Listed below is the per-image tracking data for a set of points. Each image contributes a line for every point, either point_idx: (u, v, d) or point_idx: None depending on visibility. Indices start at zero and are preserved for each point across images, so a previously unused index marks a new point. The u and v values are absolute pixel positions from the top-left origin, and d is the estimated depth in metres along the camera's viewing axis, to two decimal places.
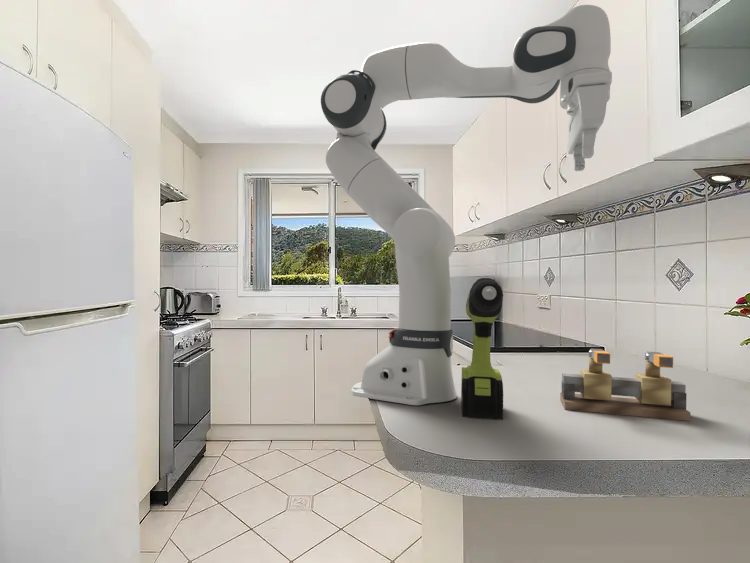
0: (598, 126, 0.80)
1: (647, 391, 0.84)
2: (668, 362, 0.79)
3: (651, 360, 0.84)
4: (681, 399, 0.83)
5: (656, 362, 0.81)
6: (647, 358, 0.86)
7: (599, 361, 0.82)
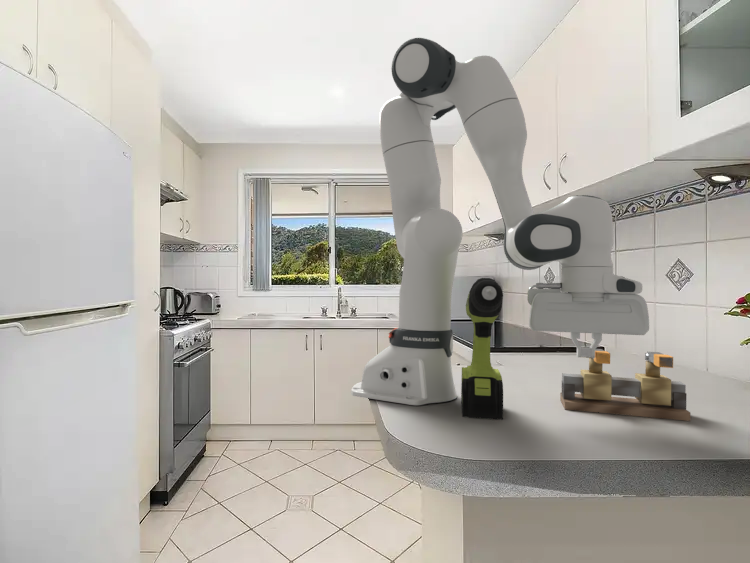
0: None
1: (647, 391, 0.84)
2: (668, 362, 0.79)
3: (651, 360, 0.84)
4: (681, 399, 0.83)
5: (656, 362, 0.81)
6: (647, 358, 0.86)
7: (599, 361, 0.82)
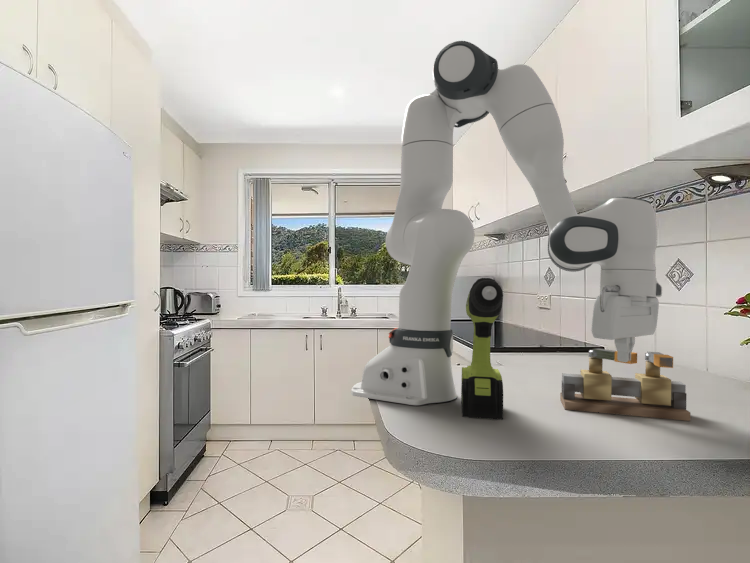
0: None
1: (647, 391, 0.84)
2: (668, 362, 0.79)
3: (651, 360, 0.84)
4: (681, 399, 0.83)
5: (656, 362, 0.81)
6: (647, 358, 0.86)
7: (631, 362, 0.82)
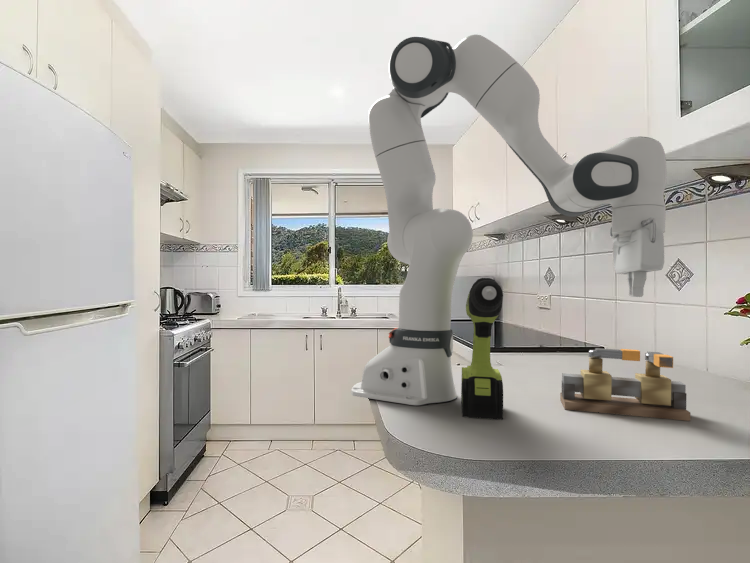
0: (619, 273, 0.93)
1: (647, 391, 0.84)
2: (668, 362, 0.79)
3: (651, 360, 0.84)
4: (681, 399, 0.83)
5: (656, 362, 0.81)
6: (647, 358, 0.86)
7: None
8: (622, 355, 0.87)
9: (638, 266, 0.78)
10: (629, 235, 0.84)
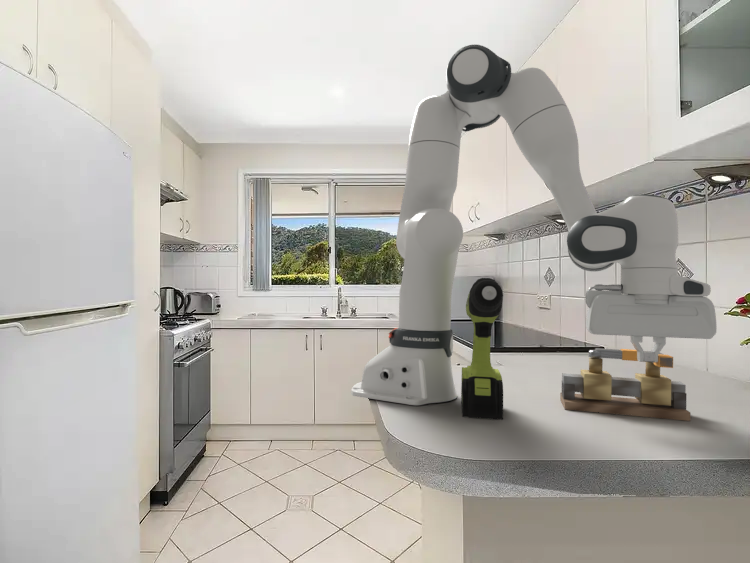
0: None
1: (647, 391, 0.84)
2: (668, 362, 0.79)
3: None
4: (681, 399, 0.83)
5: None
6: None
7: None
8: (622, 355, 0.87)
9: None
10: None
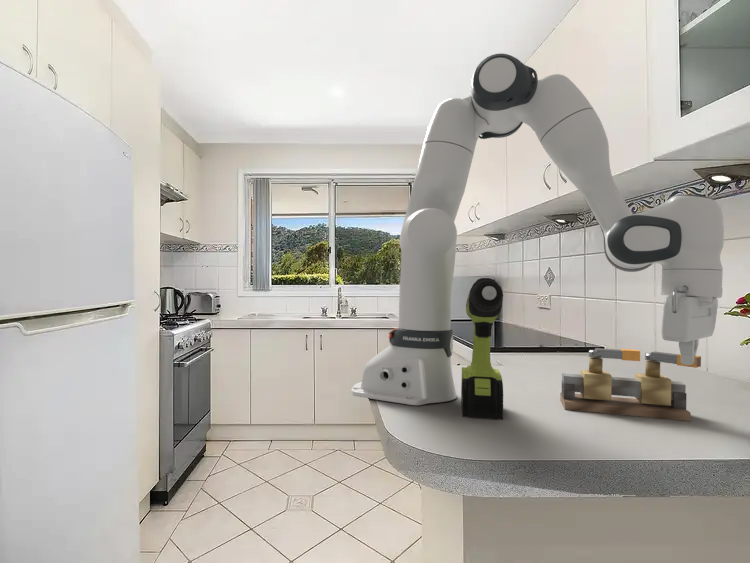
0: None
1: (647, 391, 0.84)
2: (699, 361, 0.81)
3: (666, 361, 0.84)
4: (681, 399, 0.83)
5: None
6: (654, 359, 0.85)
7: None
8: (622, 355, 0.87)
9: None
10: None
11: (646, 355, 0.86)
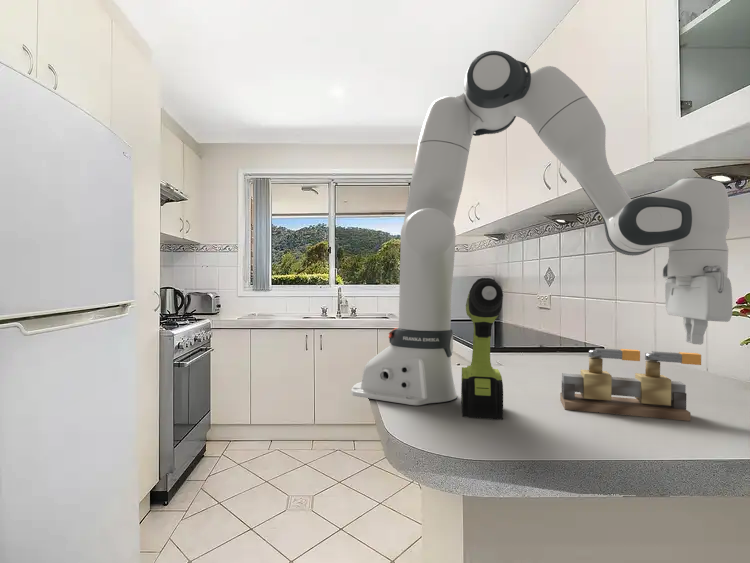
0: None
1: (647, 391, 0.84)
2: None
3: (671, 360, 0.84)
4: (681, 399, 0.83)
5: (692, 361, 0.83)
6: (658, 359, 0.85)
7: None
8: (622, 355, 0.87)
9: (703, 316, 0.74)
10: (689, 280, 0.80)
11: (649, 356, 0.86)
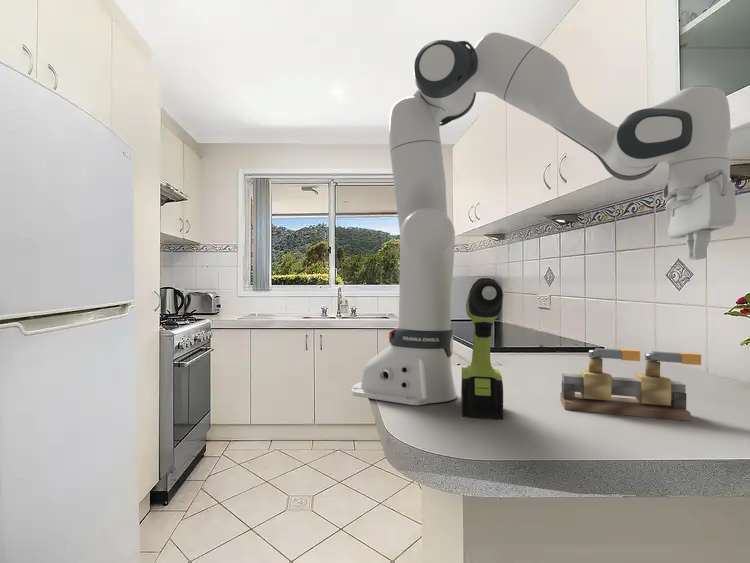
0: (674, 237, 0.87)
1: (647, 391, 0.84)
2: None
3: (671, 360, 0.84)
4: (681, 399, 0.83)
5: (692, 361, 0.83)
6: (658, 359, 0.85)
7: None
8: (622, 355, 0.87)
9: (705, 223, 0.72)
10: (690, 192, 0.78)
11: (649, 356, 0.86)
